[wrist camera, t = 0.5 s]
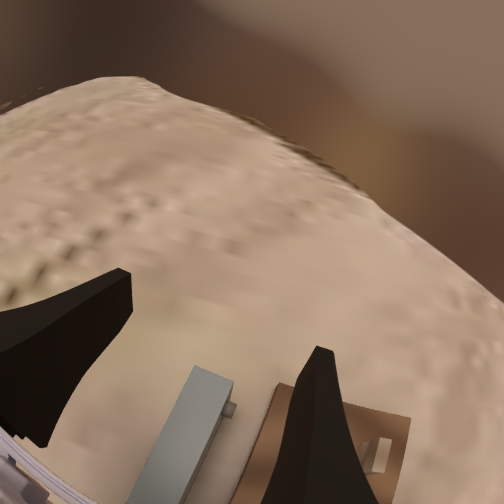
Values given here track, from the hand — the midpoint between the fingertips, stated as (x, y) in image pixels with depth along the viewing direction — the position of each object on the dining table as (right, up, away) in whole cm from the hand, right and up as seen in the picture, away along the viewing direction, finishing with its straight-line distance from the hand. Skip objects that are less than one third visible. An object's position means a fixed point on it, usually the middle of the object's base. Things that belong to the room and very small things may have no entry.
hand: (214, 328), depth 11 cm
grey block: (-4, -14, +11) cm, 19 cm away
